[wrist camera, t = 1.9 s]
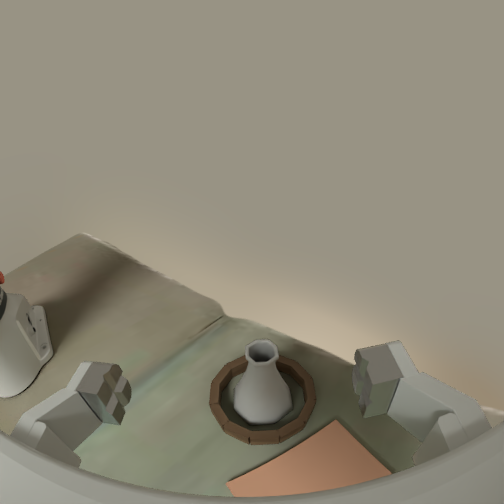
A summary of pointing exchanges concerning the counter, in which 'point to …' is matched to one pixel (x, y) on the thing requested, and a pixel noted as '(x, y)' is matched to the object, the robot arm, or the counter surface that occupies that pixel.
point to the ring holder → (269, 435)
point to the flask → (262, 386)
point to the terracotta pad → (312, 467)
